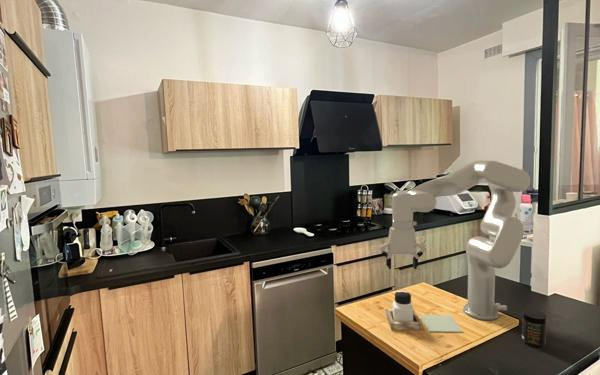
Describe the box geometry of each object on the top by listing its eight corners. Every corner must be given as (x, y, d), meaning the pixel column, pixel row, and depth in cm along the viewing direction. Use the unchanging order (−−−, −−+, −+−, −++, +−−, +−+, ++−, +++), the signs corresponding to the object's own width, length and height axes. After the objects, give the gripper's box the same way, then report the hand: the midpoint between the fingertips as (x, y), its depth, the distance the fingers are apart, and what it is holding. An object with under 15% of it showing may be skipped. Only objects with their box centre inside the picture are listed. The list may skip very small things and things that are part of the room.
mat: (450, 316, 131) (450, 315, 131) (462, 332, 119) (462, 331, 119) (420, 315, 132) (420, 315, 132) (429, 331, 120) (429, 330, 120)
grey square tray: (413, 315, 133) (413, 309, 132) (421, 330, 121) (421, 323, 121) (385, 314, 134) (385, 309, 133) (391, 329, 122) (390, 323, 122)
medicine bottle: (413, 327, 123) (413, 297, 122) (394, 326, 125) (394, 296, 124) (411, 318, 130) (411, 289, 129) (392, 317, 132) (392, 288, 131)
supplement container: (549, 350, 107) (550, 320, 106) (526, 347, 109) (527, 317, 108) (540, 338, 113) (541, 310, 112) (518, 336, 115) (519, 308, 114)
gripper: (422, 222, 127) (422, 264, 128) (377, 222, 128) (377, 264, 130) (428, 226, 119) (427, 271, 121) (381, 226, 121) (380, 271, 122)
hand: (402, 268), depth 125 cm, fingers open, 9 cm apart
